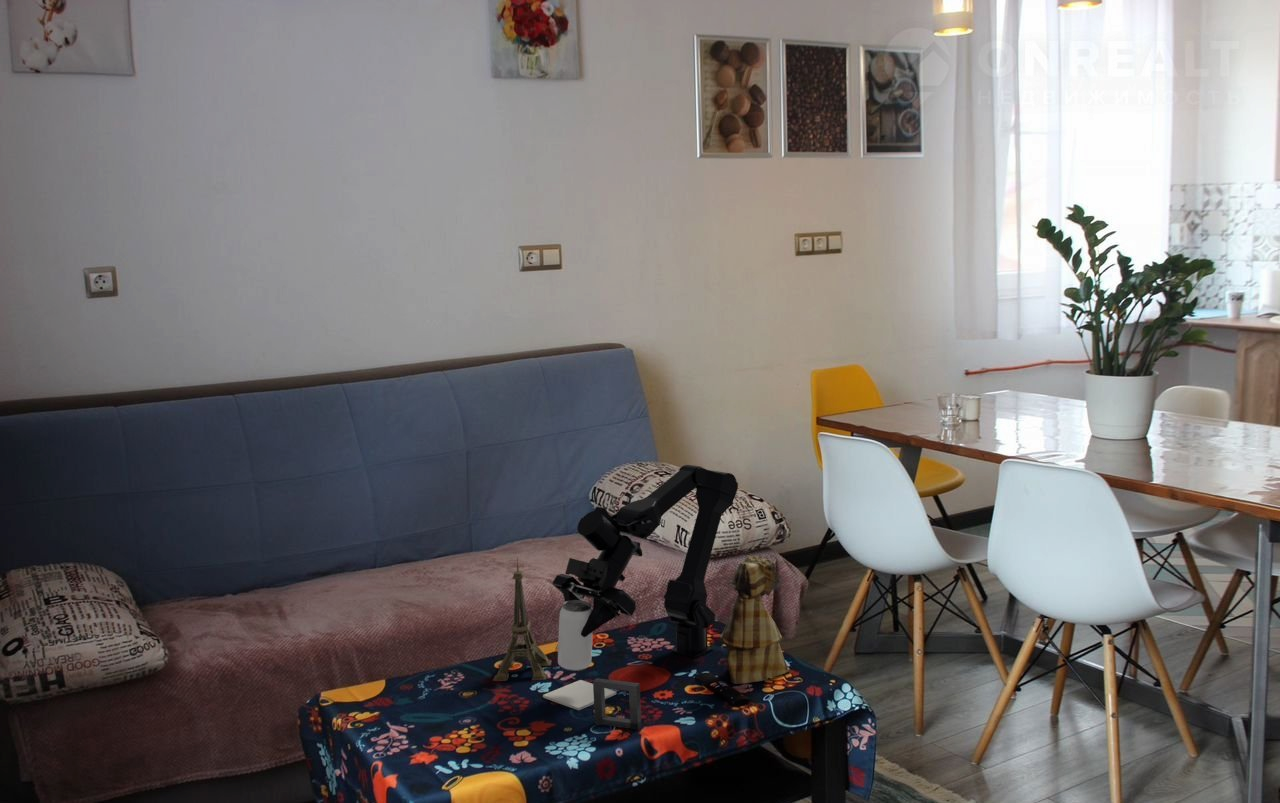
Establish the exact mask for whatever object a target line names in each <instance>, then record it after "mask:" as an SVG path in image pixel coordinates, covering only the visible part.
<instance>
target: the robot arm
mask: <svg viewBox="0 0 1280 803" xmlns="http://www.w3.org/2000/svg"><path fill="white" fill-rule="evenodd" d="M738 488H739V483H738V481H737V479H736V477H735V475H734V474H733V473H731V472H724V471H717V470H710V469H706V468H704V467H702V466H699V465H693V464H685V465H681V467H680V468H679V470H678V471H677V472H676V473H675V474H674V475H672V476H671V477H670V478H668V479H667V480H666V481H664V482H663V484H661V485H659V486H658V487H657V488H656V489H655V490H654V491H652V492H651V493H650V494H648V496H646V497H643V498H641V499H638V500H633V501H631V502H629V503H627V504H625V505H624V506H621V507H620V508H619V509H618V511H617V512H616V513H613V514H612V515H610V514H609V512H608V511H607V509H606V508H605V507H602V506H599V505H598V506H596V507H595V508H594V510H592V511H589V512H588V513H586V514H585V515H584V516H583V517H581V518H580V520H579V522H578V524H577V533H578V534H579V535H580V536H581V537H582V538H584V539H585V541H586V542H587V543H589V545H591V546H592V547H593V548H594V549H595V550H596V551H599V552H600V553H599V555H598V557H597V558H595V557H594V558H593V557H592V558H590V560H589V561H588V562H587V561H584V560H580V559H575V558H572V557H569V559H568V562H567V565H566V569H565V573H560V574H556V576H555V578H554V579H553V581H552V583H551V584H552V586H554V587H555V589H557V590H558V591H559V592H560V593H562V596H563V600H564V602H567V601H571V600H581V601H583V600H584V598H585V597H586V598H590V599H592V602H593V604H592V608H591V609H592V611H591V613H590V615H589V617H588V620H587V622H586V624H585V626H584V627H583V629H582V632H581V635H582V636H583V637H586V636H588V635H589V634H590V633H592V632H594V631H596V630H597V629H599V628H600V627H602V626H603V625H604V624H606V623H608V622H610V621H611V620H613V619H614V618H615V619H616V617H617V618H620V616H621V615H624V616H629V617H633V614H634V612H635V610H636V608H637V606H636V604H637V601H636V600H635V599H633V597H631V596H630V595H629V594H628V593H627V592H626V591H625V590H624V589H620V588H618V587H617V588H616V585H617V584H618V583H619V582H624V581H625V579H626V576H625V575H624V572H625V569H626V568H627V566H628V564H629V563H630V561H631V559H632V557H633V556H636V557H643V550H642V548H641V542H638V541H634V540H632V539H631V537H633V538H638V539H647V538H649V537H650V536H651V535H652V534H653V533H654V532H655V530H656V529H657V528H658V527H659V526H660V524H661V520H662V517H663V516H664V515H665V514H666V513H667V512H669V510H671V509H672V508H673V507H674V506H675V505H676V504H678V503H679V502H680V501H681V500H683V499H684V498H685V497H686V496H687V495H689V494H690V493H691V492H692V491H693V490H695V489H696V490H695V498H696V502H697V507H698V512H697V515H696V519H695V522H694V525H693V528H692V529H693V530H692V533H691V537H690V540H689V544H688V546H687V547H688V548H687V552H686V555H685V559H684V563H683V566H682V568H681V572H680V574H679V575H678V577H677V578H675V580H673V579H669V580H668V582H667V587H666V591H665V592H664V595H663V597H662V598H663V599H664V603H663V608H664V609H665V612H666V614H667V616H668V619H669V622H671V623H677V624H676V633H675V642H676V644H675V645H676V646H675V647H673V648H672V649H671V652H672V653H675V654H680V655H682V656H686V657H690V658H697V657H700V656H702V655H705V654H707V653H709V652H711V651H714V646H713V647H712V646H709V644H708V629H709V628H710V627H711V626H713V625H715V618H716V614H715V613H714V611H713V610H711V608H709V606H708V605H707V600H708V593H707V589H706V585H705V577H706V573H707V571H708V570H707V569H708V566H709V563H710V559H711V555H712V551H713V547H714V544H715V540H716V538H717V533H718V530H719V525H720V522H721V519H722V515H724V513H725V512H726V511H727V510H728V509H729V508H730V507H731V506H732V505H733V502H734V500H735V496H736V495H737V492H738ZM576 578H577V579H576ZM581 583H582V584H581ZM564 602H563V603H564Z"/></svg>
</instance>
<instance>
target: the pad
mask: <svg viewBox="0 0 1280 803" xmlns="http://www.w3.org/2000/svg"><path fill="white" fill-rule="evenodd" d="M604 691H605V700H607V699H608V698H612V697H613V696H615V695H617V691H615V690H614V689H610V688H604ZM542 698H543V699H545V700H549V701H552V702H554V703H557V704H560V705H563V706H565V707H568V708H571V709H574V710H576V711H580V710H583V709H585V708H587V707H590V706H594V693H593V682H592V683H591V682H588V681H586V680H582V679H579V680H576V681H574V682H572V683H569V684H567V685H565V686H561V687H560V688H557V689H554V690H552V691H549V692H547V693H544V694H543V695H542Z"/></svg>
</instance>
